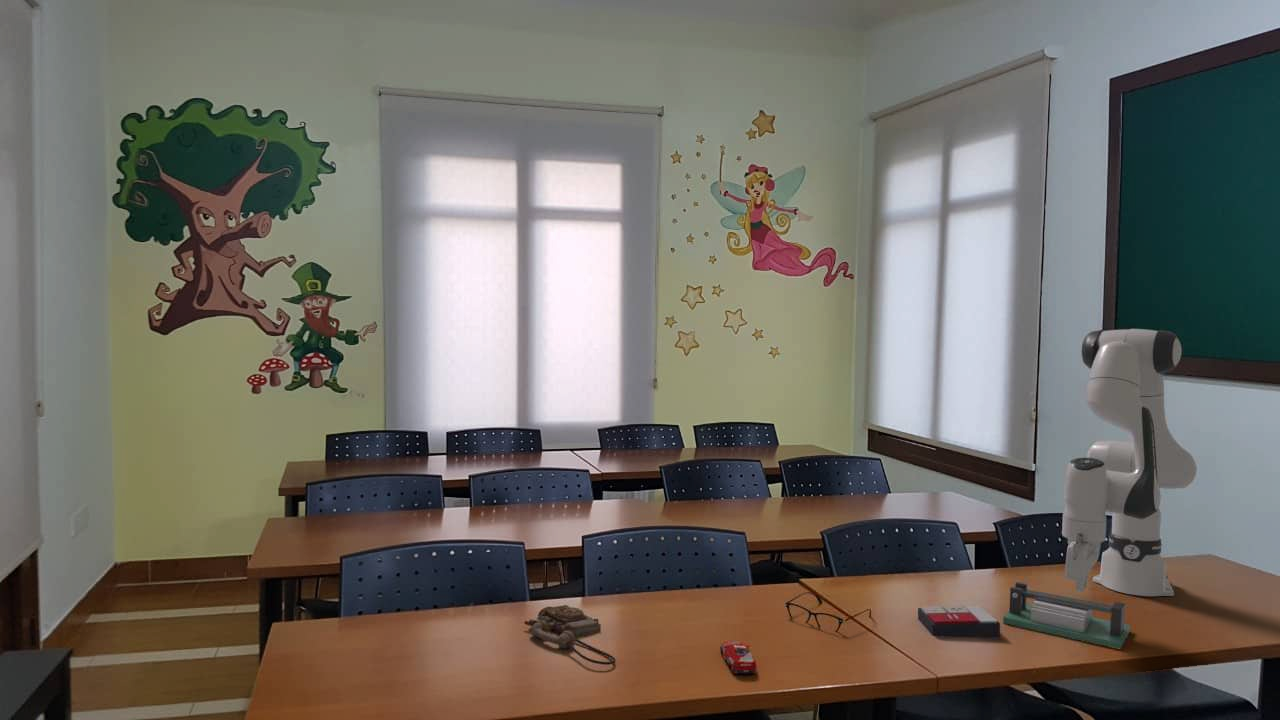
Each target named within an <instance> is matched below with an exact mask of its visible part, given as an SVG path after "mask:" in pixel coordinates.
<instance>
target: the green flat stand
mask: <svg viewBox="0 0 1280 720" xmlns="http://www.w3.org/2000/svg"><path fill="white" fill-rule="evenodd" d="M1009 588H1010V591H1009V592H1010V593H1009V611H1008V612H1007V613H1006V614H1005V615H1004V616H1003V618H1002V619H1003V621H1002V623H1003V624H1004V623H1005V624H1006V625H1008V624H1010V625H1009V626H1013V625H1015V626H1014V627H1017V626H1018V628H1021V627H1024V628H1023V629H1026V628H1028V629H1027V630H1030V629H1032V630H1031V631H1035V630H1037V631H1036V632H1039V631H1041V632H1040V633H1043V632H1046V633H1045V634H1048V633H1050V634H1049V635H1052V634H1054V635H1053V636H1057V635H1059V636H1058V637H1061V636H1063V637H1062V638H1065V637H1069V638H1068V639H1070V638H1074V639H1078V640H1084V641H1087V642H1092V643H1096V644H1101V645H1105V646H1110V647H1115V648H1120V649H1122V648H1123V646H1124V644H1125V642H1126V640H1127V637H1129V634H1130V631H1131V625H1130V624H1126V623H1125V614H1126V613H1125V611H1126V603H1123V602H1119V601H1118V602H1117V601H1115V602H1114V603H1113V604H1112V605H1113V606H1112V608H1111V613H1110V620H1107V619H1102V618H1097V617H1093V613H1094V612H1093V611H1094V610H1091V609H1085V608H1080V607H1075V606H1069V605H1064V604H1059V603H1053V602H1048V601H1043V600H1037V599H1034V601H1032V604H1030V603H1027V601H1028V598H1027V597H1022V591H1023V589H1026V590H1028V583H1024V582H1020V581H1016V582H1015V586H1011V587H1009ZM1074 639H1073V640H1074ZM1125 639H1126V640H1125ZM1078 640H1077V641H1078ZM1124 641H1125V642H1124ZM1087 642H1086V643H1087ZM1092 643H1091V644H1092ZM1123 643H1124V644H1123ZM1096 644H1095V645H1096ZM1122 645H1123V646H1122ZM1105 646H1104V647H1105ZM1121 647H1122V648H1121Z"/></svg>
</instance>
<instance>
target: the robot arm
mask: <svg viewBox="0 0 1280 720" xmlns="http://www.w3.org/2000/svg"><path fill="white" fill-rule="evenodd" d="M1081 344H1082V345H1081V347H1080V348H1081V349H1080V350H1081V351H1080V355H1081V359H1082V362H1083V364H1085V366H1087V368H1088V369H1090V372H1089V375H1088V382H1087V387H1086V388H1087V389H1086V403H1087V406H1088V408H1089V410H1090V411H1091V412H1092V413H1093V414H1094V415H1095V416H1096V417H1098V418H1099V419H1101V420H1102V421H1104V422H1105V423H1108V424H1110V425H1113V426H1114V427H1116V428H1119V429H1121V430H1123V431H1126V432H1127V433H1129V434H1130V436H1132V438H1133V441H1126V440H1125V441H1124V440H1118V439H1117V440H1116V439H1115V440H1114V439H1111V440H1110V439H1109V440H1108V439H1107V440H1098V441H1095V442H1094V443H1093V444H1092V445H1090V447H1089V449H1088V450H1087V453H1086V457H1077V458H1073V459H1071V460H1070V461H1069V462H1068V465H1067V467H1066V468H1067V469H1066V473H1065V478H1064V484H1063V485H1064V487H1063V489H1064V490H1063V499H1064V506H1065V507H1064V509H1063V512H1062V523H1061V525H1062V528H1061V529H1062V530H1061V535H1062V537H1064V538H1066V539H1067V544H1068V546H1067V548H1066V550H1067V551H1066V558H1065V571H1064V574H1065V578H1066V579H1067V580H1068V579H1069V580H1073V581H1075V590H1076V591H1077V592H1081V593H1082V592H1083V593H1084V592H1085V590H1086V588H1087V585H1088V578H1089V573H1090V571H1091V570H1093V569H1092V568H1093V567H1094V566H1095V564H1096V563H1097V562H1098V560H1099V556H1100V552H1101V545H1102V543H1104V542H1105V541H1106V533H1107V514H1106V513H1111V532H1109V536H1108V545H1109V547H1108V548H1107V549H1106V550H1105V551H1102V555H1101V562H1100V573H1099V574H1097V575H1095V576H1093V577H1092V582H1094V583H1098V585H1099V584H1100V585H1102V586H1103V587H1105V588H1107V589H1108V590H1109V589H1110V590H1111V591H1115V592H1119V593H1123V594H1125V595H1126V594H1127V595H1131V596H1132V595H1134V596H1139V597H1162V596H1164V597H1165V596H1166V597H1174V596H1175V591H1174V589H1173V587H1172V585H1171V582H1170V580H1169V579H1168V578H1169V577H1168V575H1167V574H1166V573H1167V563H1166V562H1165V560H1164V559H1163V558H1162V556H1161V553H1162V547H1163V546H1162V539H1161V538H1160V536H1161V534H1160V533H1161V522H1162V521H1161V519H1162V513H1161V510H1160V505H1161V490H1160V489H1166V490H1167V489H1168V490H1169V489H1185V488H1187V487H1189V486H1190V485H1191V484H1192V483H1193V481H1194V480H1195V478H1196V475H1197V471H1198V470H1197V463H1196V461H1195V458H1194V457H1193V456H1192V454H1190V453H1191V452H1188V451H1187V450H1186V449H1184V448H1183V447H1182V446H1181V445H1180V444H1179V442H1177V440H1176V439H1175V438H1174V437H1173V435H1172V434H1171V432H1170V430H1169V427H1168V424H1167V420H1166V413H1165V412H1166V411H1165V385H1164V384H1165V382H1164V375H1166V373H1169V372H1172V371H1173V370H1174V369H1175V368H1177V367H1178V365H1179V362H1180V360H1181V357H1182V345H1181V342H1180V338H1179V337H1178V336H1177V334H1175V333H1174V332H1173V331H1168V330H1163V329H1159V330H1153V329H1145V328H1143V329H1142V328H1129V329H1111V330H1110V329H1109V330H1104V329H1098V330H1094V331H1090V332H1089V333H1088V334H1086V335H1085V337H1083V341H1082V343H1081Z"/></svg>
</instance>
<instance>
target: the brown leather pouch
mask: <svg viewBox="0 0 1280 720" xmlns="http://www.w3.org/2000/svg"><path fill="white" fill-rule="evenodd" d="M528 620H529V621H528ZM528 620H525V621H524V625H526V626H530V631H531V633H532V635H533V636H534V637H536V638H540V639H542V640H544V641H545V642H549V643H551V644H555V645H558V647H559V648H561V649H564V650H565V649H566V650H568V649H571V650H572V651H573V652H574V653H575V654H577V655H578V656H579V657H580V658H582V659H583V660H586V661H587V662H590V663H594V664H597V665H604V666H605V665H608V666H609V665H613V664H615V663H616V658H615V657H614V656H613V655H611V654H610V653H607V652H605V651H603V650H600V649H598V648H596V647H593V646H592V645H589V644H587V643H585V642H583V641H582V640H579V639H577V637H583V636H584V635H585V636H586V635H589V634H593V633H598V632H600V631H601V630H602V629H601V627H602V626H601V623H600V622H599V619H598V618H592V617H591V616H588V615H586V614H584V611H583V610H582V609H580V608H579V607H574V606H573V607H571V606H569V605H567V604H566V605H565V604H564V605H558V606H545V607H544V608H541V610H540V611H539V612H538V613H537V617H536V619H528ZM549 629H550V630H552V631H554V632H556V633H557V634H559V636H556V635H553V634H551V633H549ZM576 643H578V644H580V645H582V646H584V647H586V648H588V649H590V650H592V651H595V652H597V653H599V654H601V655H604V656H606V657H608V658H609V659H611V660H612V661H600V660H595V659H592V658H589V657H587V656H585V655H583V654H582V653H581V652H580V651H578V650H577V649H576V648H575V645H576Z"/></svg>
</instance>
